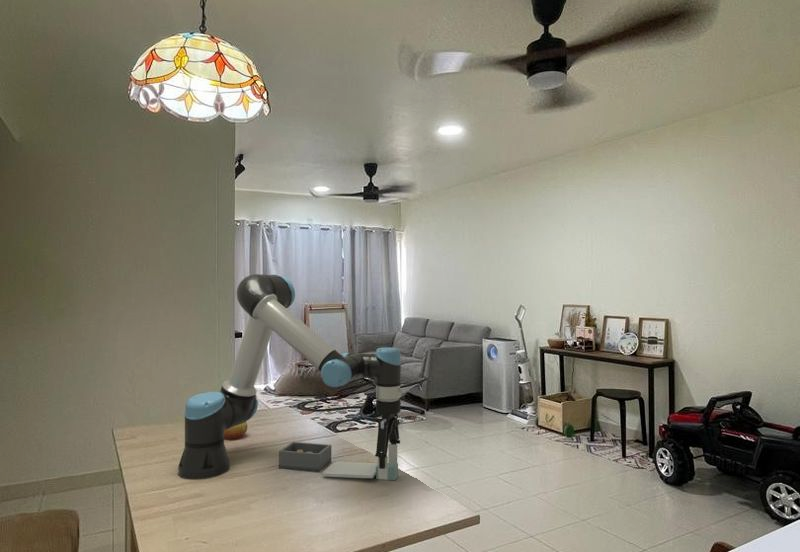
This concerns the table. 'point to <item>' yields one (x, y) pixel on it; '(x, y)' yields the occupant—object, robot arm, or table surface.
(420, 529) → the table surface
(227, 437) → the apple
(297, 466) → the tub
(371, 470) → the lid
